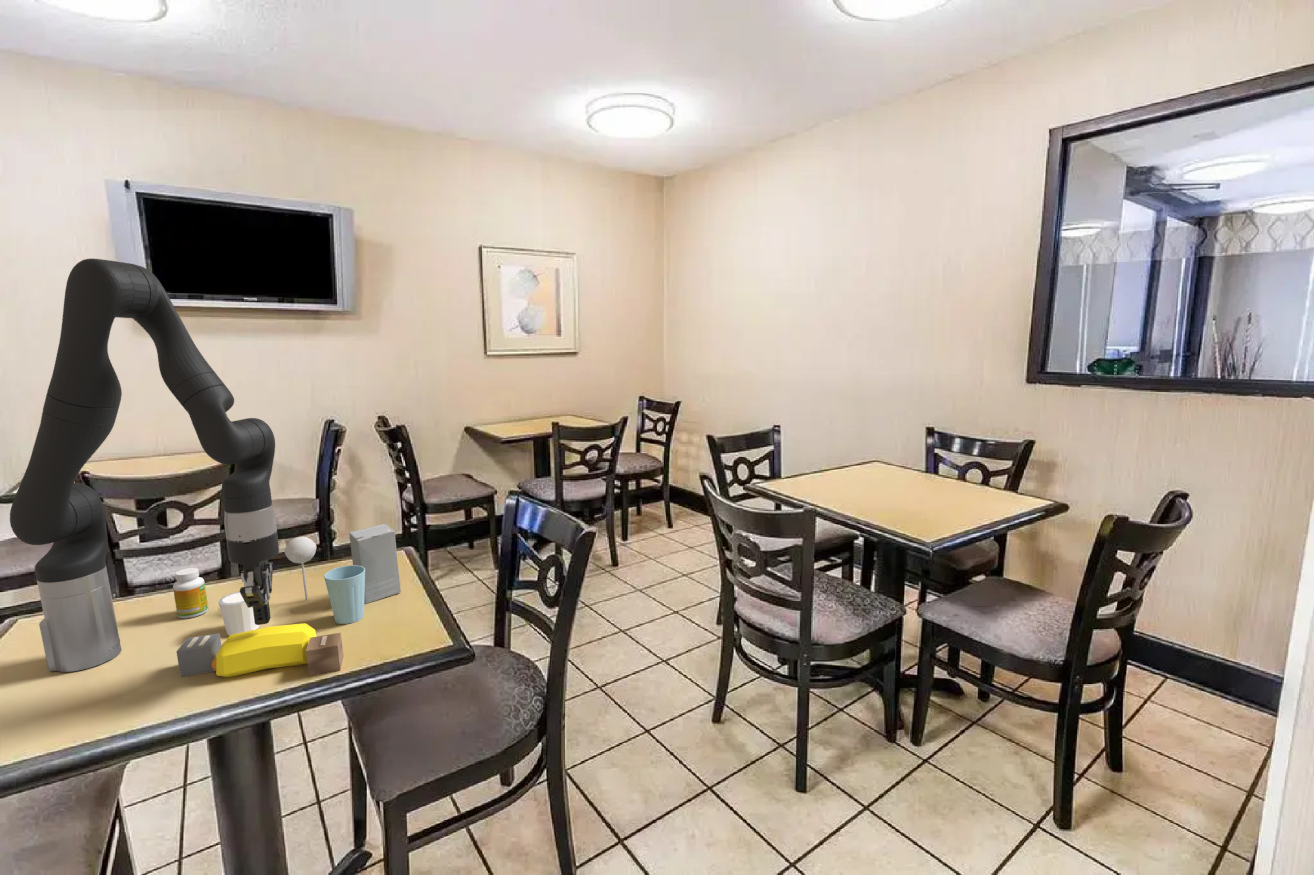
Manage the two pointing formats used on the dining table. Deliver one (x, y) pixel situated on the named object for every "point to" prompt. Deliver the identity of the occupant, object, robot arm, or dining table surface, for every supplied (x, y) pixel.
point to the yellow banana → (263, 649)
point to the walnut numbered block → (324, 654)
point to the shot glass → (236, 614)
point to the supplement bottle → (190, 593)
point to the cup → (346, 593)
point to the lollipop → (301, 554)
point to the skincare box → (376, 561)
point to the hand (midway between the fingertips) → (263, 622)
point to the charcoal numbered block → (198, 654)
